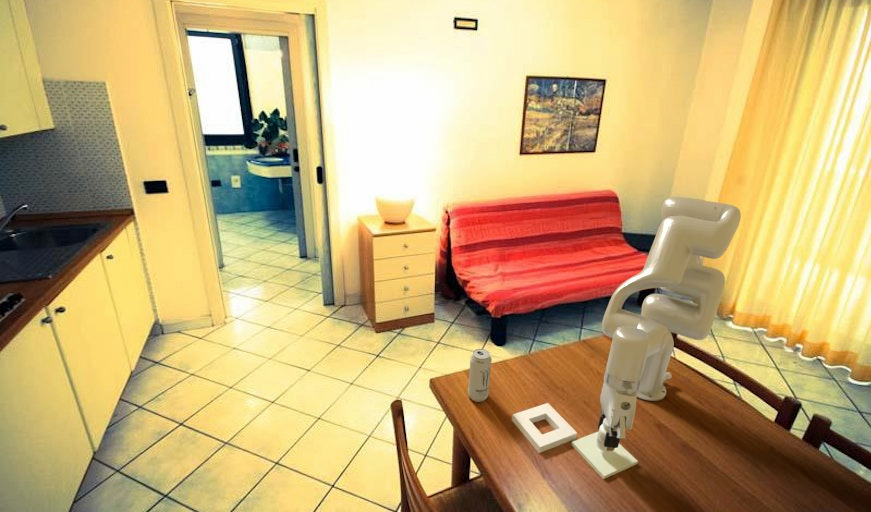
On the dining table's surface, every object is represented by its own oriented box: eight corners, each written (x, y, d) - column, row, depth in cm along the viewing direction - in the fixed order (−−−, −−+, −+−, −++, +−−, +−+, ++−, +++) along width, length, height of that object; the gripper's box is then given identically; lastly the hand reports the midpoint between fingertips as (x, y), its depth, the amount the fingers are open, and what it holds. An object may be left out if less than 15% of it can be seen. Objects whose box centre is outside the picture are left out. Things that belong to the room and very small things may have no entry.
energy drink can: (478, 406, 117) (482, 363, 111) (463, 395, 121) (466, 352, 115) (492, 397, 121) (496, 354, 115) (477, 386, 125) (480, 345, 119)
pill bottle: (610, 456, 99) (617, 432, 96) (593, 446, 101) (598, 422, 98) (617, 445, 102) (623, 422, 99) (599, 436, 104) (605, 412, 101)
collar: (546, 408, 117) (547, 402, 116) (576, 438, 107) (577, 433, 106) (511, 420, 112) (512, 414, 111) (538, 453, 102) (539, 447, 101)
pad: (603, 432, 109) (603, 429, 109) (636, 464, 100) (637, 461, 100) (571, 444, 105) (571, 441, 105) (603, 479, 96) (604, 476, 95)
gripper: (653, 405, 86) (634, 468, 92) (626, 357, 101) (612, 414, 108) (616, 401, 86) (601, 465, 93) (595, 354, 102) (583, 412, 109)
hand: (607, 437), depth 100 cm, fingers closed on pill bottle, 4 cm apart
